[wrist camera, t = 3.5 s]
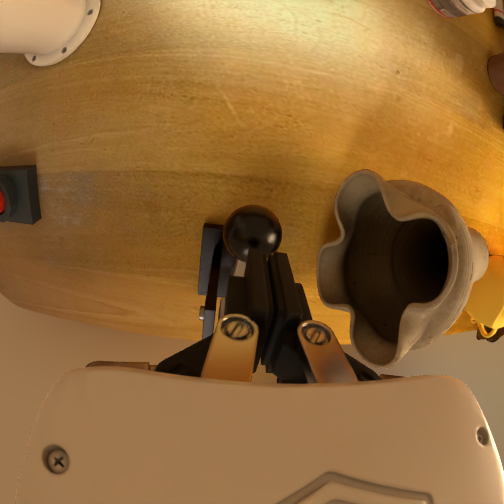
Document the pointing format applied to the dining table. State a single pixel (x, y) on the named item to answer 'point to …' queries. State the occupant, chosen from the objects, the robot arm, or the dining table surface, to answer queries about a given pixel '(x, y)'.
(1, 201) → the button
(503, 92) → the flower pot
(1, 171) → the button box
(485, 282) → the teapot
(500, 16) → the marker
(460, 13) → the pill bottle
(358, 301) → the vase
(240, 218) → the lever
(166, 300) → the dining table surface
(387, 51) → the dining table surface
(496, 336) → the figurine
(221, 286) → the bracket
